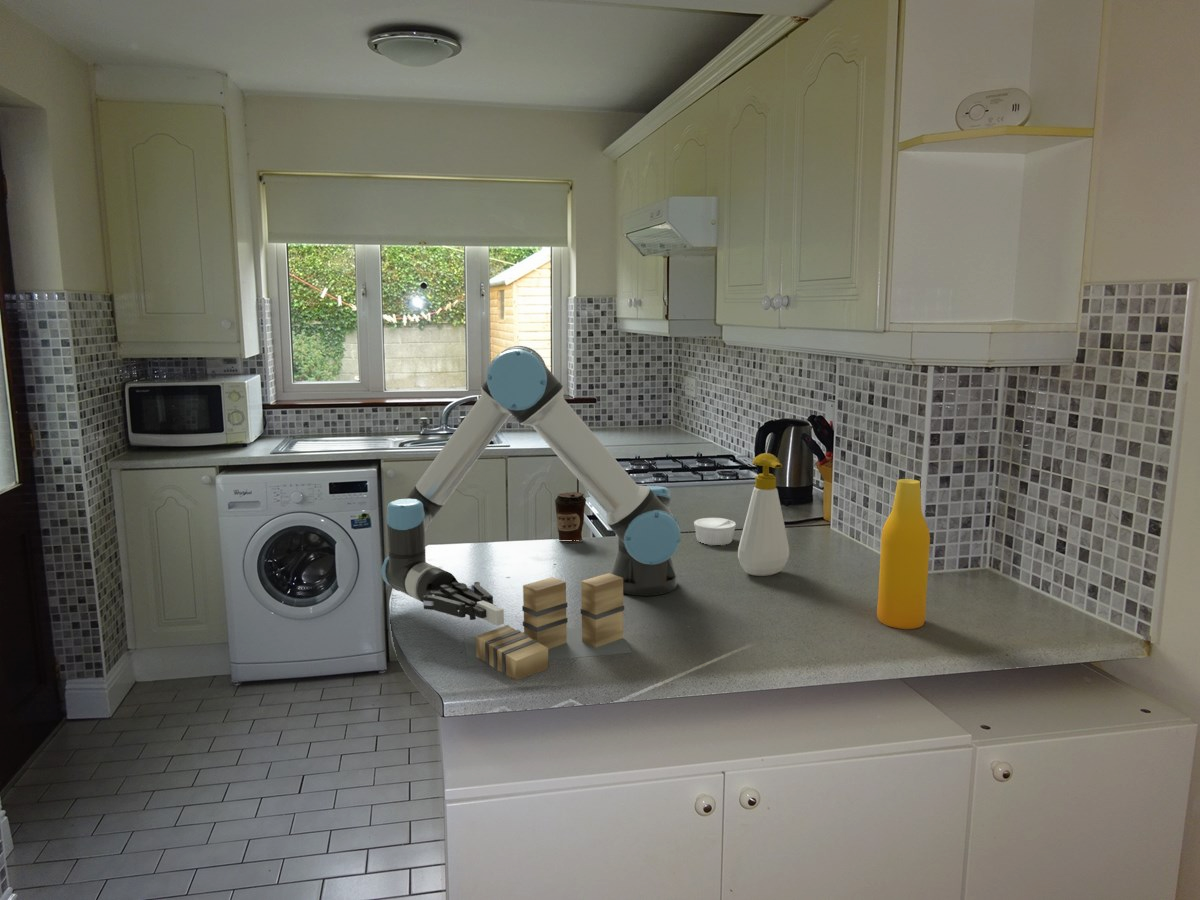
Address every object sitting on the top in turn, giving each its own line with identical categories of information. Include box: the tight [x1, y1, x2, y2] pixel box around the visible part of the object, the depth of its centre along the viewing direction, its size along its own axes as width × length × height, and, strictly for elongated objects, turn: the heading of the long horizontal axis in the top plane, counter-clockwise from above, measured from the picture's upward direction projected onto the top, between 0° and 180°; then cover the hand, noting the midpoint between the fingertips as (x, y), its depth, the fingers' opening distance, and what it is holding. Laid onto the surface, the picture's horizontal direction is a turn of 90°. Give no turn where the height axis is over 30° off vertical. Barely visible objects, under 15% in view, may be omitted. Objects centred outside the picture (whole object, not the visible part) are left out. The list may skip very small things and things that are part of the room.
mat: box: [463, 626, 632, 668], centre depth 160 cm, size 30×14×1 cm, turn 102°
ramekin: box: [693, 517, 737, 546], centre depth 229 cm, size 11×11×5 cm
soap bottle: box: [737, 452, 790, 577], centre depth 199 cm, size 13×10×29 cm
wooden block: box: [521, 576, 569, 649], centre depth 159 cm, size 4×7×12 cm, turn 132°
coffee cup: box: [554, 491, 587, 544], centre depth 230 cm, size 9×8×13 cm
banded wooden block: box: [580, 572, 625, 648], centre depth 161 cm, size 4×7×12 cm, turn 132°
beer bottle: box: [876, 478, 931, 630], centre depth 169 cm, size 9×9×29 cm
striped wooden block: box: [475, 624, 549, 681], centre depth 151 cm, size 4×7×12 cm
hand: (500, 617), depth 153 cm, fingers closed
